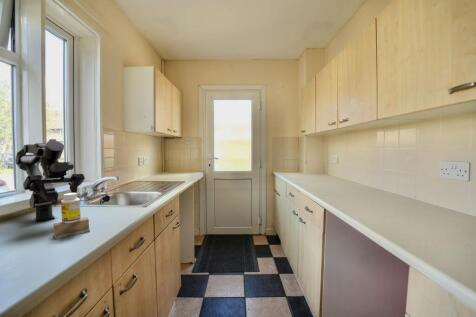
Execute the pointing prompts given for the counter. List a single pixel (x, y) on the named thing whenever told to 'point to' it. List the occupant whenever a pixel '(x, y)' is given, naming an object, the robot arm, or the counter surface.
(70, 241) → the counter surface
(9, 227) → the counter surface
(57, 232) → the block
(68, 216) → the supplement bottle
